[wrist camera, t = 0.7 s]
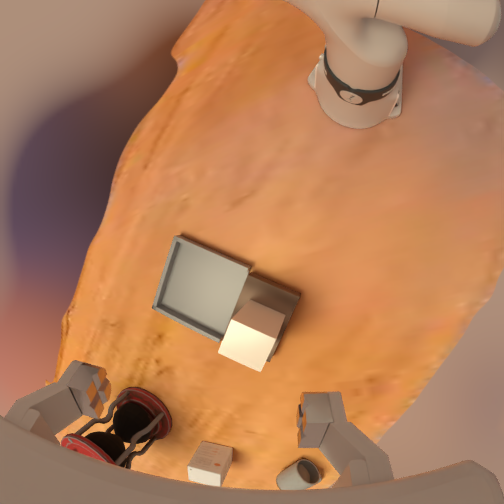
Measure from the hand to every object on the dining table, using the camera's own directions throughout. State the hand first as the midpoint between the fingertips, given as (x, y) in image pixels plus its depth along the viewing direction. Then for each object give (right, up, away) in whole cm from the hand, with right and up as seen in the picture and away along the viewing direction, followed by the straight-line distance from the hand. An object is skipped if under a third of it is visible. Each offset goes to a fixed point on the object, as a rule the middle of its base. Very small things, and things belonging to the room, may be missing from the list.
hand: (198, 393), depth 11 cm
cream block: (+4, -7, +43) cm, 44 cm away
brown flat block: (+4, -7, +46) cm, 47 cm away
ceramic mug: (+15, -48, +48) cm, 69 cm away
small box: (-6, -44, +52) cm, 69 cm away
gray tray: (-8, -1, +49) cm, 49 cm away
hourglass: (-25, -36, +56) cm, 71 cm away
